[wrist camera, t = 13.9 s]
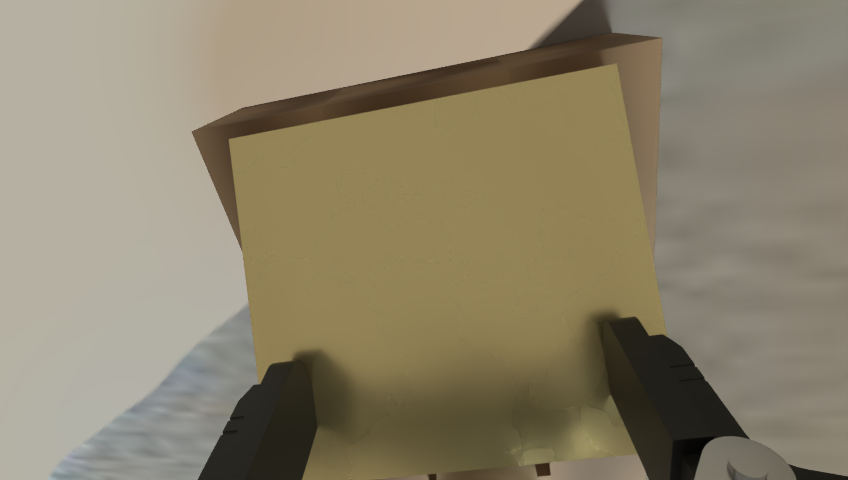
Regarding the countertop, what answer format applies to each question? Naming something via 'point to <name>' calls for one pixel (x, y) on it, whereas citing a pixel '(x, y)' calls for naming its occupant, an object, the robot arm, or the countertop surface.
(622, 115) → the latch flap
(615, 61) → the block
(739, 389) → the countertop surface
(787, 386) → the countertop surface
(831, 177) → the countertop surface
